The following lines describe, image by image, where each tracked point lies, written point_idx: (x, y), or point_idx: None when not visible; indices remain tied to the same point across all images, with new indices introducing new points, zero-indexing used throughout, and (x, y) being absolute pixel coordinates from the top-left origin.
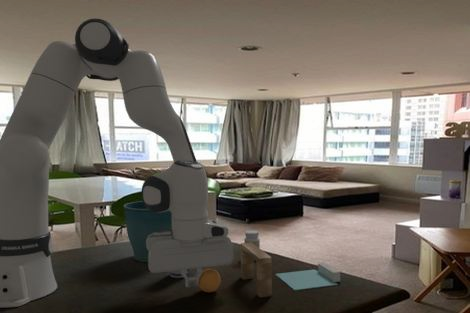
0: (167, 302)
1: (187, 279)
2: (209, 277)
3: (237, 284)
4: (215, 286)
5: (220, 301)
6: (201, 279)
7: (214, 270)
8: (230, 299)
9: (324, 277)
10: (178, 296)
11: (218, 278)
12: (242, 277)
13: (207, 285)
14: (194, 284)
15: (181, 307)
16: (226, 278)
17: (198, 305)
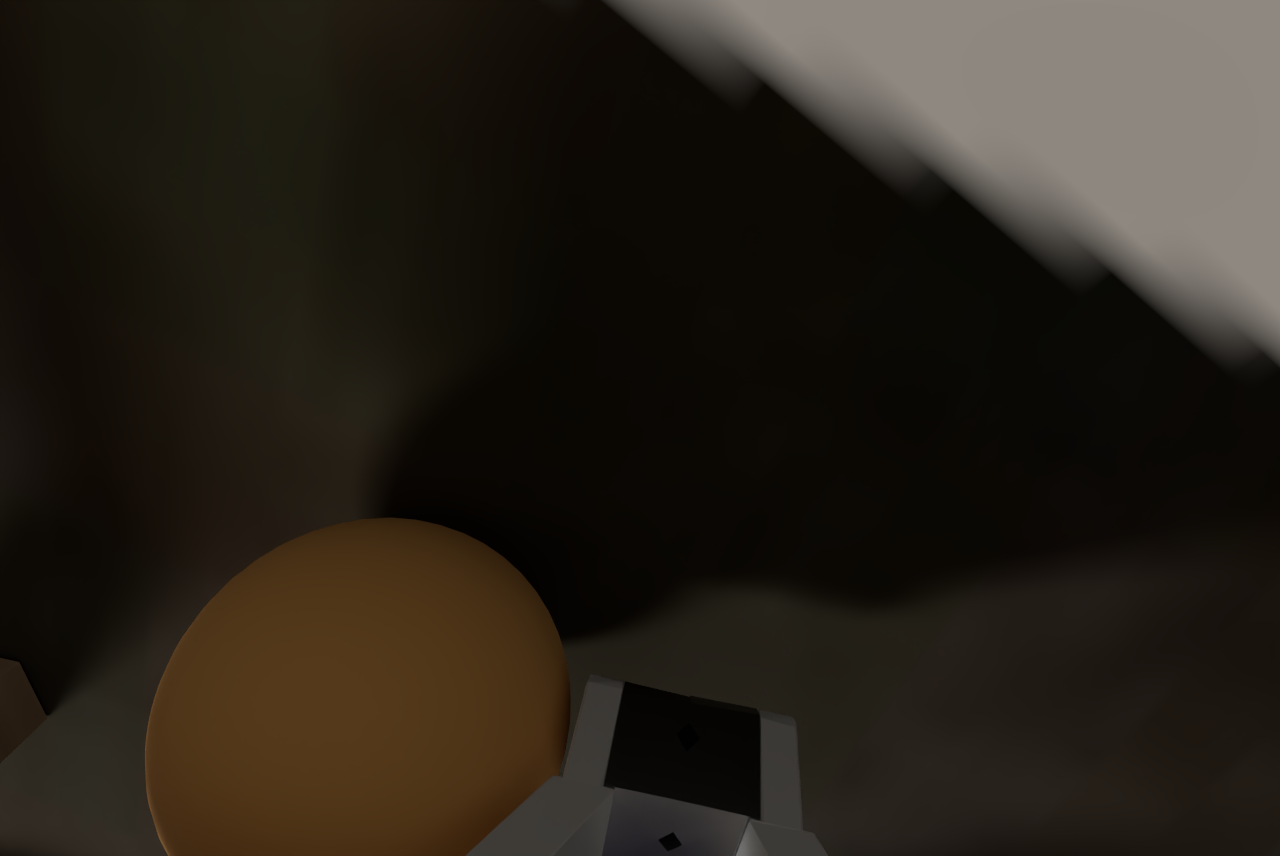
0: (1154, 561)
1: (781, 842)
2: (336, 707)
3: (84, 592)
4: (324, 532)
5: (365, 206)
6: (508, 745)
7: (170, 851)
8: (196, 205)
9: None
10: (893, 647)
11: (187, 644)
12: (13, 691)
13: (450, 585)
14: (655, 708)
15: (1080, 288)
16: None
17: (767, 226)
